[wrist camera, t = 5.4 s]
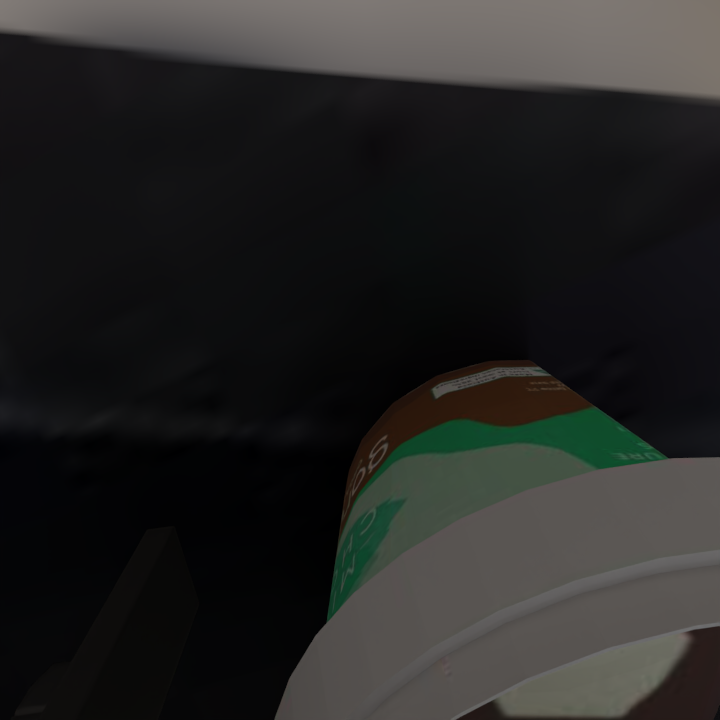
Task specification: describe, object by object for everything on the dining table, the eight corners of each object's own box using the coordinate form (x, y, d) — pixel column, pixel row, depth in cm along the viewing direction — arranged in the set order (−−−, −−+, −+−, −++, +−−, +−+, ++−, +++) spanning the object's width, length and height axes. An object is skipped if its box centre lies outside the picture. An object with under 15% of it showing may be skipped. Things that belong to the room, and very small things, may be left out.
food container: (315, 293, 14) (243, 534, 5) (539, 308, 14) (895, 566, 5) (300, 640, 18) (245, 1136, 9) (474, 647, 19) (601, 1138, 9)
